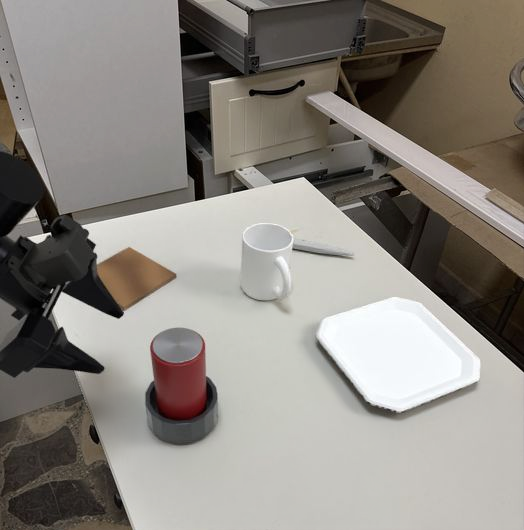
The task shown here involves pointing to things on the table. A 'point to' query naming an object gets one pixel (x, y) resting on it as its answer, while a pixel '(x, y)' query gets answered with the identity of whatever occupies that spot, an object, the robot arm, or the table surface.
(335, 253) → the tool
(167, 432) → the bowl
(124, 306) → the coaster
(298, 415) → the table surface
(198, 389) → the can
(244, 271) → the mug
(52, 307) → the robot arm
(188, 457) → the table surface
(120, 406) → the table surface
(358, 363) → the plate
